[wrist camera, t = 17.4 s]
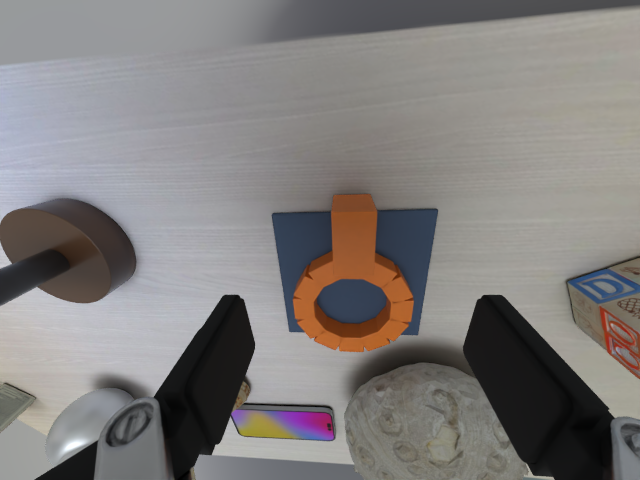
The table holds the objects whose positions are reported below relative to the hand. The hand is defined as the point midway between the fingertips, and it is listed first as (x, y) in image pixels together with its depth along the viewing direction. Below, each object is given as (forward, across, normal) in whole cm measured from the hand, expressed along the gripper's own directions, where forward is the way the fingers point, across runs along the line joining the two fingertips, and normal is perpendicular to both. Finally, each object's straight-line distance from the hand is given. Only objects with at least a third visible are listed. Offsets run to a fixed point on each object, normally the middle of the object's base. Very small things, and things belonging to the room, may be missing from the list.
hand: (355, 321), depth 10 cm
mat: (+12, 0, +6) cm, 14 cm away
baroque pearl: (+12, +34, +28) cm, 45 cm away
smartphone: (+12, +10, +32) cm, 35 cm away
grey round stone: (+12, -8, +24) cm, 28 cm away
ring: (+12, 0, +6) cm, 13 cm away
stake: (+13, +26, +3) cm, 29 cm away
